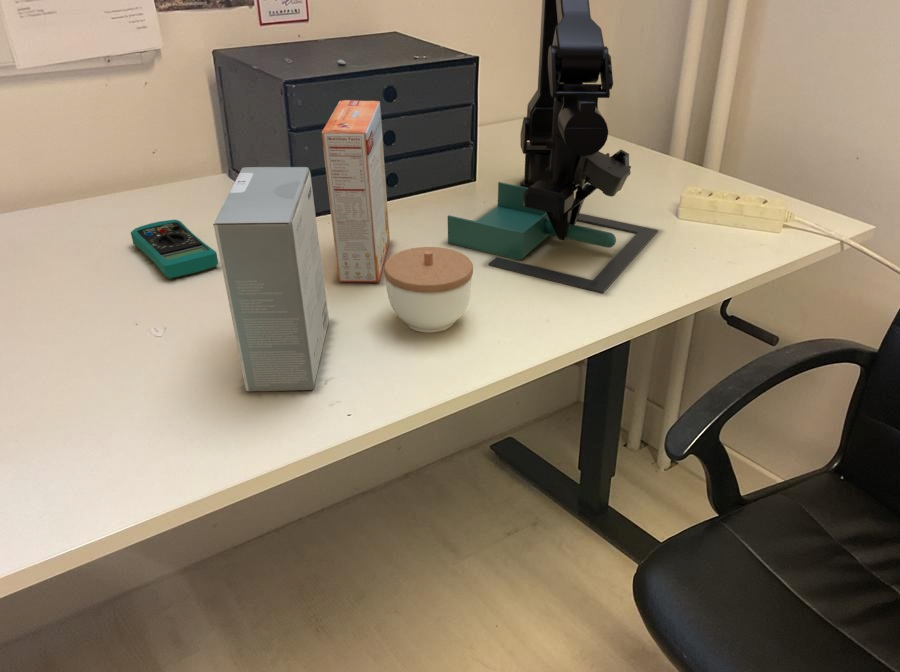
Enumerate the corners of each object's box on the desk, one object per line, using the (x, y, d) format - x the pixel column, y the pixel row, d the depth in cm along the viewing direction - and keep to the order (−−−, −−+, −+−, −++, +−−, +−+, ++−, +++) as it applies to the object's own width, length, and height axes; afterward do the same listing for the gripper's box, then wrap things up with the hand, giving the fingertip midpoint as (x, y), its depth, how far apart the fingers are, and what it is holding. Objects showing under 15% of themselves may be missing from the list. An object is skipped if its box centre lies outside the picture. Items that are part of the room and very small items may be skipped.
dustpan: (447, 242, 122) (447, 216, 119) (498, 206, 134) (499, 181, 132) (593, 278, 113) (595, 249, 111) (632, 236, 126) (636, 209, 123)
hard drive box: (267, 322, 100) (242, 165, 89) (329, 321, 101) (313, 165, 90) (243, 393, 87) (211, 220, 76) (315, 392, 88) (293, 220, 77)
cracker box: (350, 241, 121) (338, 98, 110) (391, 242, 121) (382, 99, 110) (334, 283, 109) (318, 128, 98) (379, 284, 110) (368, 129, 98)
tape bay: (488, 265, 116) (488, 263, 115) (556, 210, 134) (556, 208, 134) (602, 293, 109) (603, 291, 109) (657, 231, 127) (658, 229, 127)
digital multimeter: (181, 233, 122) (177, 214, 120) (221, 268, 112) (217, 248, 111) (131, 245, 118) (127, 226, 116) (168, 282, 108) (163, 262, 107)
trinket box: (406, 350, 96) (402, 279, 90) (375, 310, 104) (370, 242, 98) (487, 331, 100) (488, 262, 95) (451, 294, 108) (450, 228, 103)
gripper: (602, 161, 103) (591, 272, 112) (648, 125, 117) (636, 226, 126) (523, 146, 107) (519, 254, 116) (577, 113, 121) (570, 212, 130)
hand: (564, 236), depth 122 cm, fingers closed on dustpan, 2 cm apart
